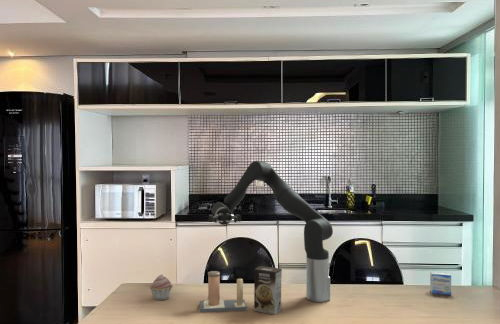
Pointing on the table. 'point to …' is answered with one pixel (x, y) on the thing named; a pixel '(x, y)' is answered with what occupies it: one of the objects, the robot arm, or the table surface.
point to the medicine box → (440, 283)
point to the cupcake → (161, 288)
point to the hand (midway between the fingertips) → (225, 220)
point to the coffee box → (267, 290)
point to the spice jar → (213, 288)
